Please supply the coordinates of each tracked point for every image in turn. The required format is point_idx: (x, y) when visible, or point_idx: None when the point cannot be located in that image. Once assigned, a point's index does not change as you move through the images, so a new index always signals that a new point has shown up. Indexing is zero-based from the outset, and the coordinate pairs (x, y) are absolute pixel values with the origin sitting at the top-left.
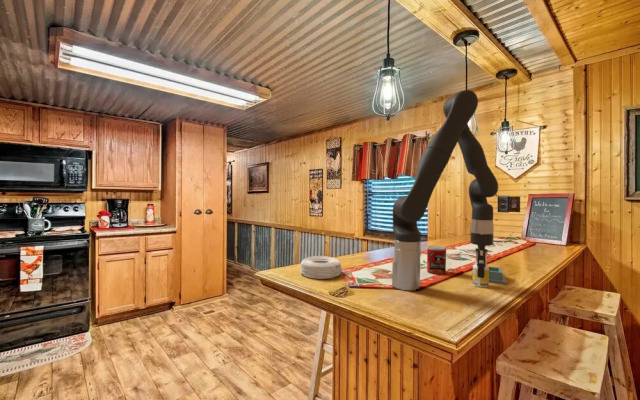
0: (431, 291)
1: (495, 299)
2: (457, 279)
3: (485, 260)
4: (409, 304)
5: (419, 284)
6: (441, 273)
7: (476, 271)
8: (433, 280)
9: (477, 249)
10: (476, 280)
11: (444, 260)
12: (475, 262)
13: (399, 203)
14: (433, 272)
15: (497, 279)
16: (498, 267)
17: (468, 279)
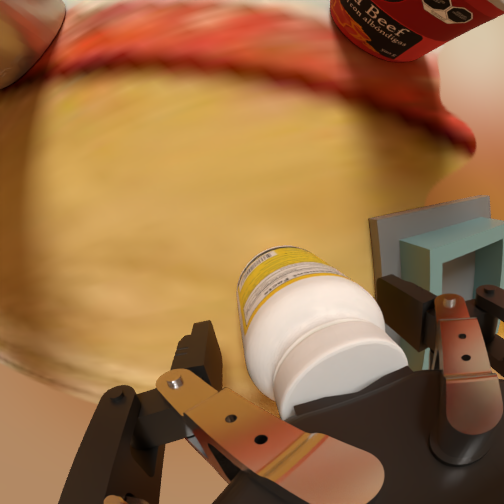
0: (10, 130)
1: (100, 379)
2: (324, 138)
3: (219, 474)
4: None
5: (3, 77)
6: (357, 43)
7: (246, 317)
8: (189, 37)
9: (450, 455)
10: (240, 289)
11: (420, 20)
12: (311, 334)
13: None
14: (330, 7)
15: (401, 343)
16: (499, 322)
17: (370, 197)
